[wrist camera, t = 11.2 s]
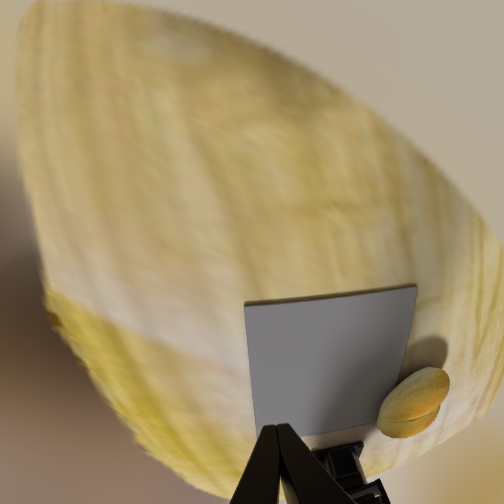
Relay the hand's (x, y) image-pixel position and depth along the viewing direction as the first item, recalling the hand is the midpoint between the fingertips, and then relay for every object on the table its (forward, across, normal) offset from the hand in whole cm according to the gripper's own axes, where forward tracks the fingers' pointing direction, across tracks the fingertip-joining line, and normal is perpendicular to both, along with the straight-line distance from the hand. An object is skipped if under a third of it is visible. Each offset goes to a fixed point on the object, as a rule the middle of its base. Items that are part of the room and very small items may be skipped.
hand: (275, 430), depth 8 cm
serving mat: (+12, -6, +9) cm, 16 cm away
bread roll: (+12, -13, +11) cm, 21 cm away
